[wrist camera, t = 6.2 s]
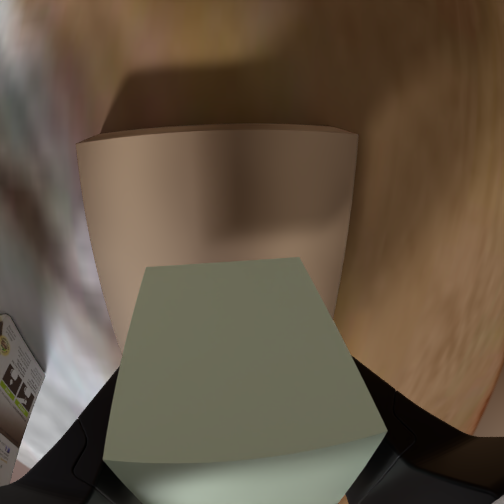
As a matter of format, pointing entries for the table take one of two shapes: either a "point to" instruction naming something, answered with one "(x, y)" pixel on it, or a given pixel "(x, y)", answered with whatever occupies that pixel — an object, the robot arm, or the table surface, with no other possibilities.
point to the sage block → (238, 390)
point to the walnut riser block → (215, 202)
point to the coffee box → (15, 393)
